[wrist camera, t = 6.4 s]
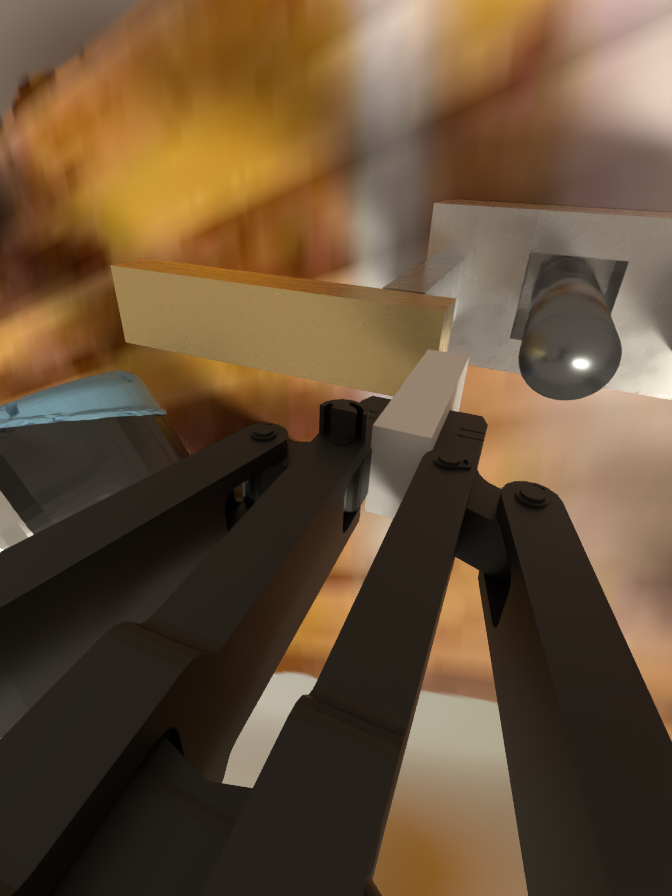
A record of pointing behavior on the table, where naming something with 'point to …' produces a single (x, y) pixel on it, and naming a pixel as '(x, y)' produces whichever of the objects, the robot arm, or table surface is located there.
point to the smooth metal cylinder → (568, 333)
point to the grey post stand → (526, 254)
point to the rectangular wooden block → (282, 322)
